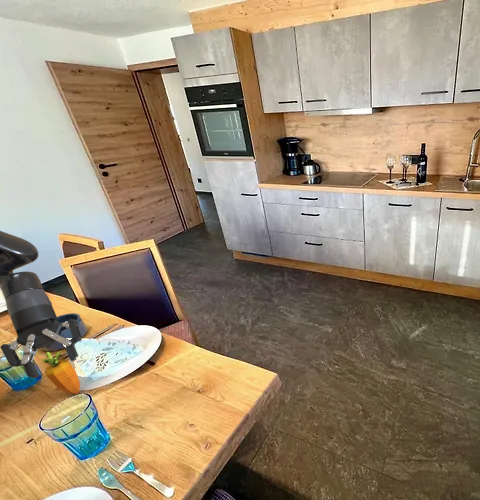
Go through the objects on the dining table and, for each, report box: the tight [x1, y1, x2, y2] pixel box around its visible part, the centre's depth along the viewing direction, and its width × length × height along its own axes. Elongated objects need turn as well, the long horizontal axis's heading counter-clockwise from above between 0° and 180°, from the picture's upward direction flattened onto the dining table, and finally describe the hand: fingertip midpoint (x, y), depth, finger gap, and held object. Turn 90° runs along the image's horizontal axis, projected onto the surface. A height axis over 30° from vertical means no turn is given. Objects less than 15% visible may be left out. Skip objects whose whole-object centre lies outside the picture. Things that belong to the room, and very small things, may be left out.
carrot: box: [42, 350, 81, 395], centre depth 75 cm, size 5×5×15 cm
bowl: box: [41, 312, 88, 352], centre depth 97 cm, size 12×12×6 cm
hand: (55, 368), depth 73 cm, fingers open, 6 cm apart
